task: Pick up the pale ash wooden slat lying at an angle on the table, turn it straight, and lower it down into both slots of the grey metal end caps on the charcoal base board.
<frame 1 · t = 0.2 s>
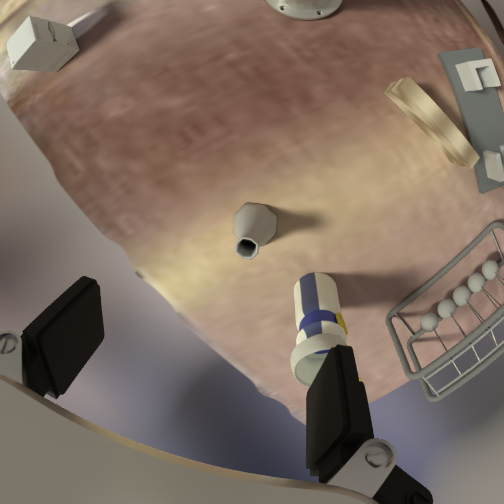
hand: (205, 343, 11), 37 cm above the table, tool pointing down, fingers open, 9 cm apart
water bottle: (315, 289, 51), on the table
newton's cradle: (452, 283, 48), on the table
flask: (255, 223, 48), on the table
supplement box: (64, 49, 37), on the table
slat: (423, 122, 37), on the table
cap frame: (483, 118, 34), on the table
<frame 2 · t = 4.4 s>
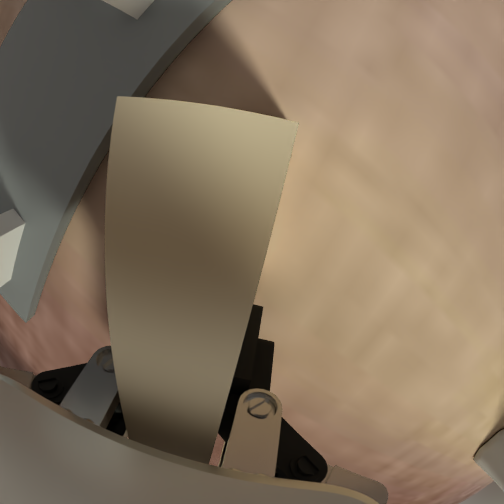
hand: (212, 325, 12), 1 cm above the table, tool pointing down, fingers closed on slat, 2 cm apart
flask: (501, 436, 17), on the table
slat: (218, 310, 13), on the table, touching gripper
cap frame: (44, 97, 10), on the table
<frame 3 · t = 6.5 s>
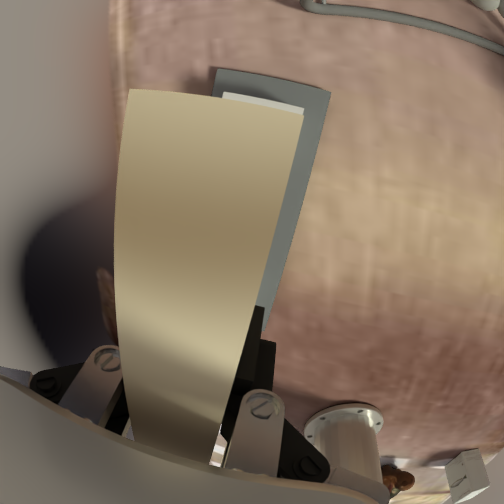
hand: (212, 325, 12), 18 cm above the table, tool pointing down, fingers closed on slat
decorative turtle: (380, 470, 46), on the table
supplement box: (461, 456, 44), on the table
slat: (220, 303, 13), point 16 cm above the table, touching gripper
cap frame: (244, 209, 28), on the table
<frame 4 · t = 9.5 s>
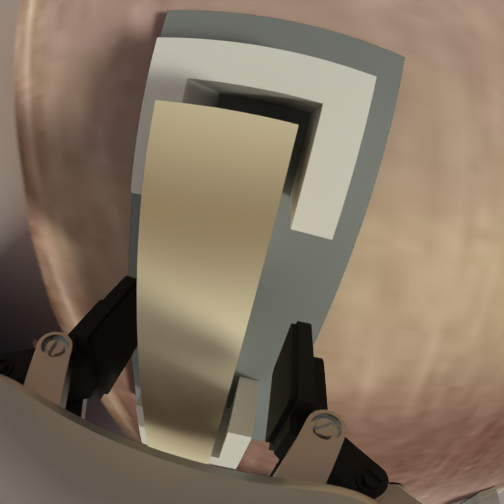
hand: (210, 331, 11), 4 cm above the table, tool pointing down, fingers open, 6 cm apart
supplement box: (476, 495, 32), on the table
slat: (224, 295, 14), point 1 cm above the table, touching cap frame
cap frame: (227, 285, 15), on the table
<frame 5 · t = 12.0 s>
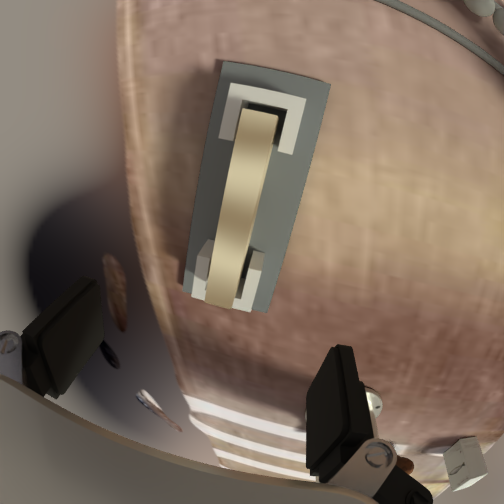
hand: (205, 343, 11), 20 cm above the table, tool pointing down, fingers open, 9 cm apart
decorative turtle: (380, 456, 49), on the table
supplement box: (459, 444, 47), on the table
slat: (247, 196, 28), point 1 cm above the table, touching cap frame
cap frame: (248, 194, 29), on the table
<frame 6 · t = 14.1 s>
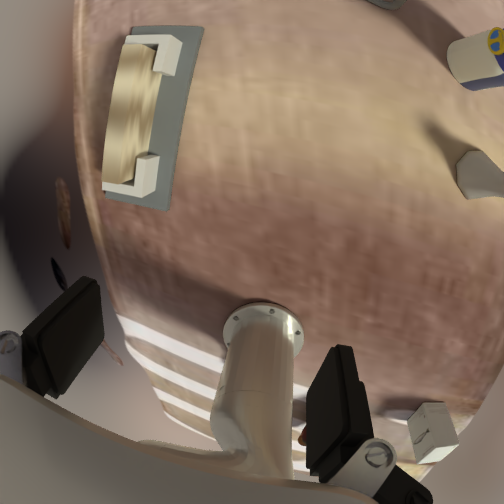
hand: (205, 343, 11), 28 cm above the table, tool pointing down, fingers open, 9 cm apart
water bottle: (467, 66, 25), on the table
flask: (473, 174, 32), on the table
supplement box: (425, 411, 51), on the table
slat: (145, 113, 33), point 1 cm above the table, touching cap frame
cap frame: (149, 113, 34), on the table
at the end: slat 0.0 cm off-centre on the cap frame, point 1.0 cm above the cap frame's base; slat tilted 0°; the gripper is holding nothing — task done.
